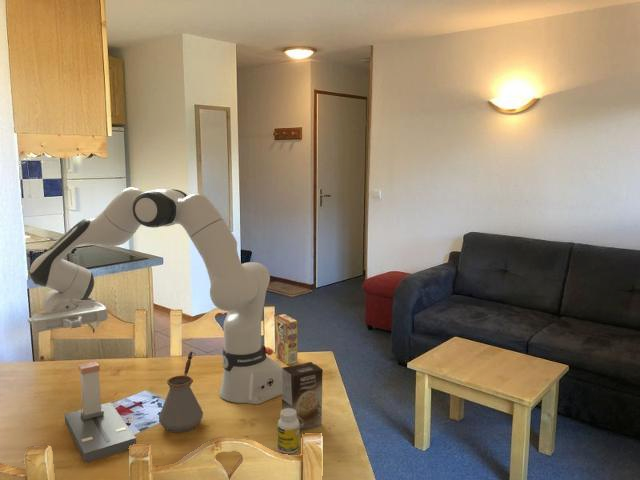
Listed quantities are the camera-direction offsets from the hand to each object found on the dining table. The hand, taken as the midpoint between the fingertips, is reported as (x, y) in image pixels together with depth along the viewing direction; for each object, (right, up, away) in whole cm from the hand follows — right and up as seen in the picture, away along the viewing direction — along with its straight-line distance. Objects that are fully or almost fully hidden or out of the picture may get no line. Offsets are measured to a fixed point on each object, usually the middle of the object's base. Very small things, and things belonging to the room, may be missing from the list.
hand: (75, 325), depth 153 cm
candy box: (+57, -18, +38) cm, 70 cm away
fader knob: (+7, -23, -7) cm, 25 cm away
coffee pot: (+31, -25, -2) cm, 40 cm away
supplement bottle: (+60, -28, -17) cm, 69 cm away
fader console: (+11, -26, -11) cm, 31 cm away
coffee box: (+63, -26, -6) cm, 69 cm away
